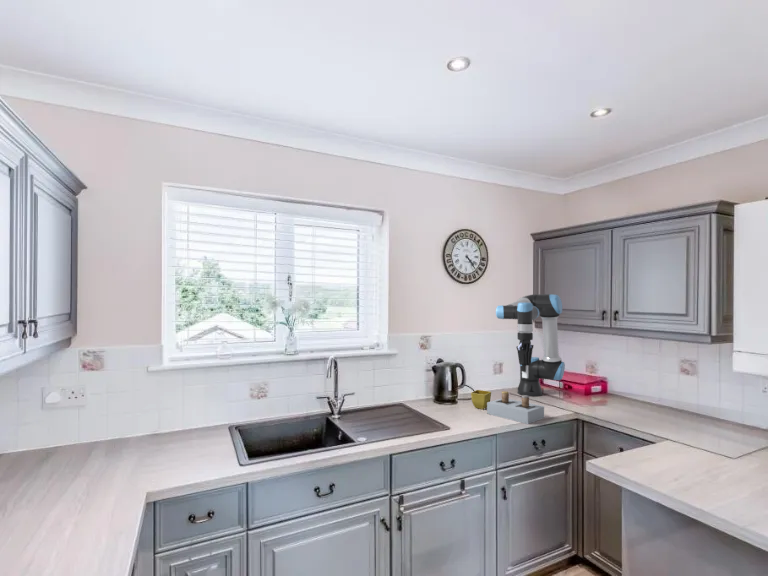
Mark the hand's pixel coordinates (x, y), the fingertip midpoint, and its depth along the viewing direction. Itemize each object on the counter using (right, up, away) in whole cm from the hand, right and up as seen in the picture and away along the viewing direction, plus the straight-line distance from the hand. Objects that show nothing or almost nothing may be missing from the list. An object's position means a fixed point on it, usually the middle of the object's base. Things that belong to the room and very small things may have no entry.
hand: (525, 377), depth 219 cm
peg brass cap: (-8, -16, +9) cm, 20 cm away
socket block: (-4, -21, +4) cm, 22 cm away
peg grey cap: (0, -16, 0) cm, 16 cm away
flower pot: (-18, -22, +20) cm, 34 cm away
